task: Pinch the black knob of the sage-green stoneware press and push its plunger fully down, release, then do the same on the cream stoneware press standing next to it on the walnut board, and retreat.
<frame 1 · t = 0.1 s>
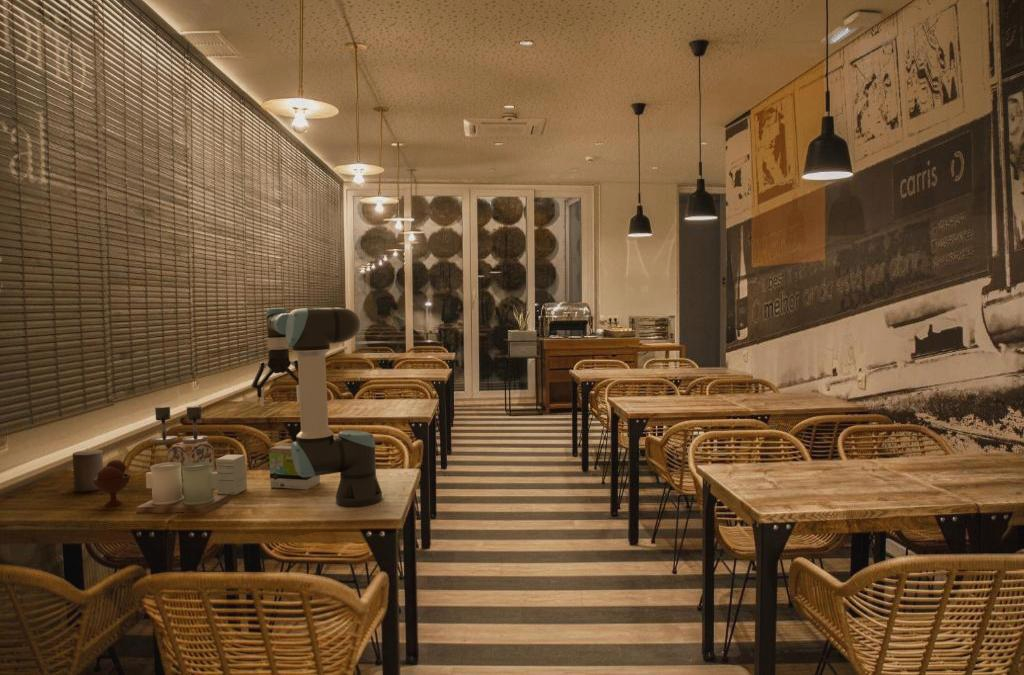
hand: (280, 404, 278), 28 cm above the table, fingers open, 13 cm apart
sage press body: (198, 501, 242), resting on walnut board
pillar candle: (89, 489, 270), on the table
supplement box: (232, 492, 260), on the table
tea box: (295, 486, 266), on the table
decorative jar: (192, 485, 271), on the table
walnut board: (183, 506, 243), on the table
cream press plunger: (163, 423, 242), point 28 cm above the table, slide at 8.0 cm
ice cream bowl: (113, 505, 247), on the table
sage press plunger: (194, 423, 240), point 28 cm above the table, slide at 8.0 cm
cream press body: (167, 500, 243), resting on walnut board
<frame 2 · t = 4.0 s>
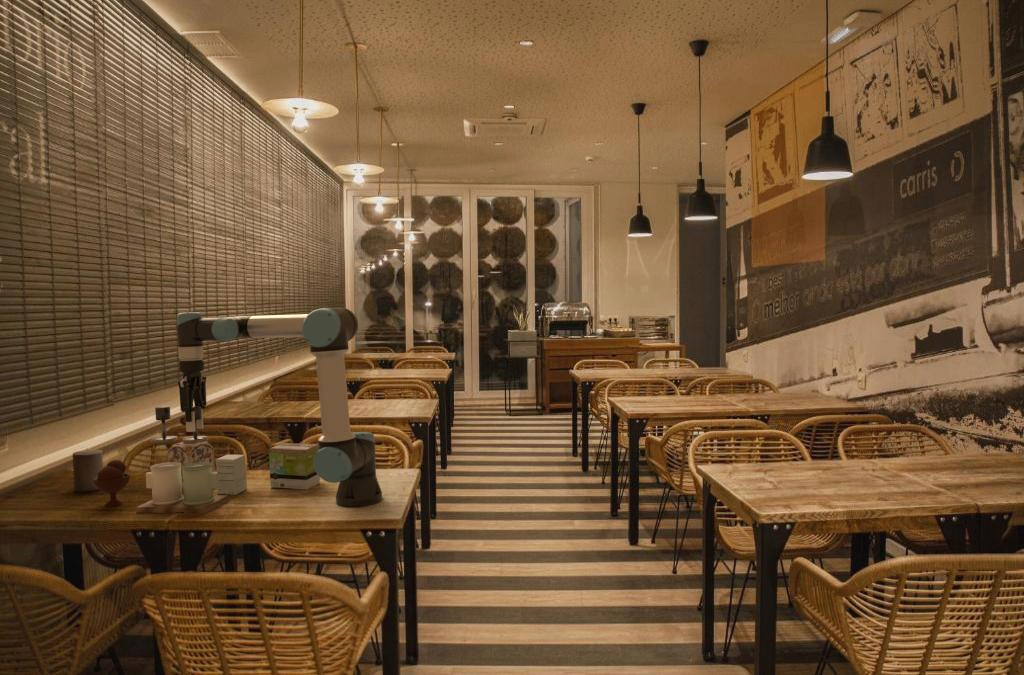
hand: (195, 429, 240), 26 cm above the table, fingers closed on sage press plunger, 4 cm apart
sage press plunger: (194, 423, 240), point 28 cm above the table, slide at 8.0 cm, touching gripper
everything else where it was.
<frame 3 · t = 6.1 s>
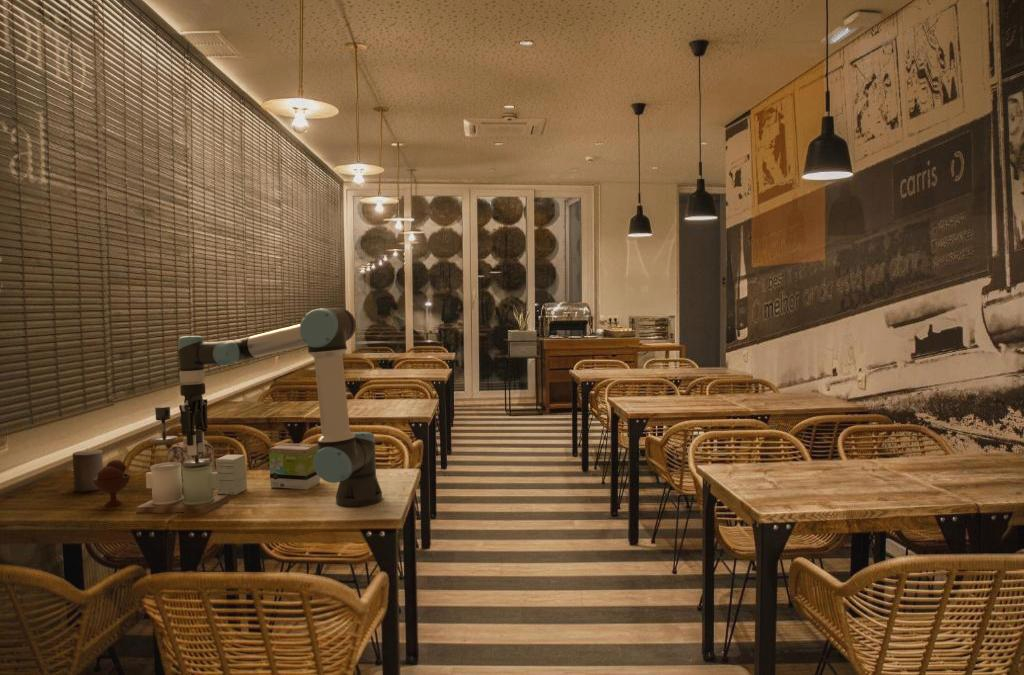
hand: (196, 453, 241), 18 cm above the table, fingers closed on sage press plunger, 4 cm apart
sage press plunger: (196, 447, 241), point 20 cm above the table, slide at 0.2 cm, touching gripper
everything else where it was.
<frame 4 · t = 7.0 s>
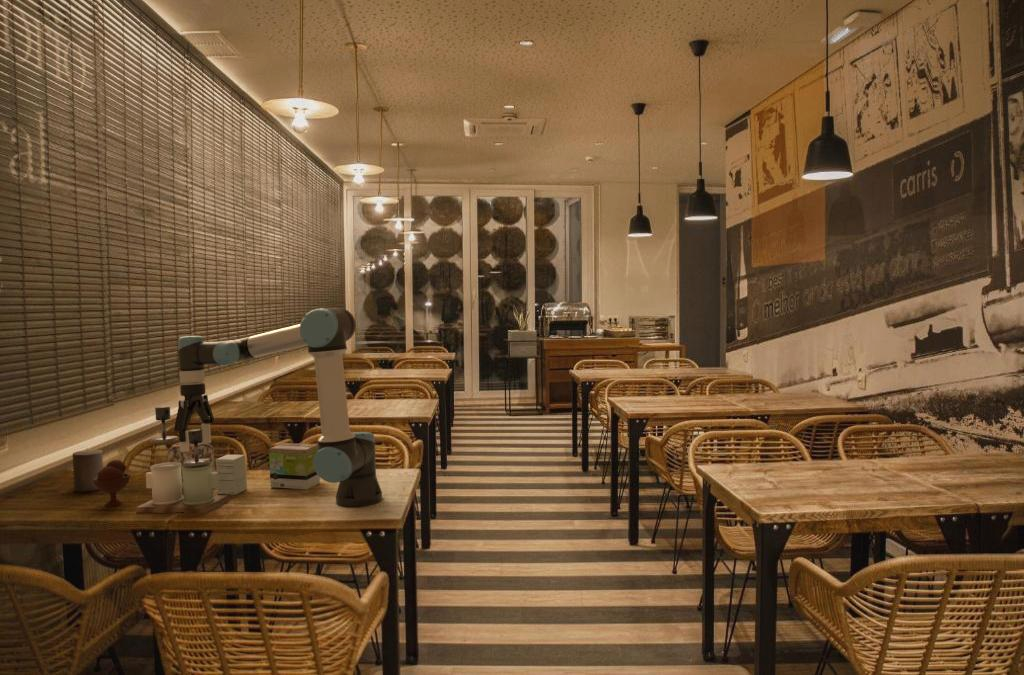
hand: (196, 447, 241), 20 cm above the table, fingers open, 13 cm apart
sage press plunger: (196, 447, 241), point 20 cm above the table, slide at 0.2 cm
everything else where it was.
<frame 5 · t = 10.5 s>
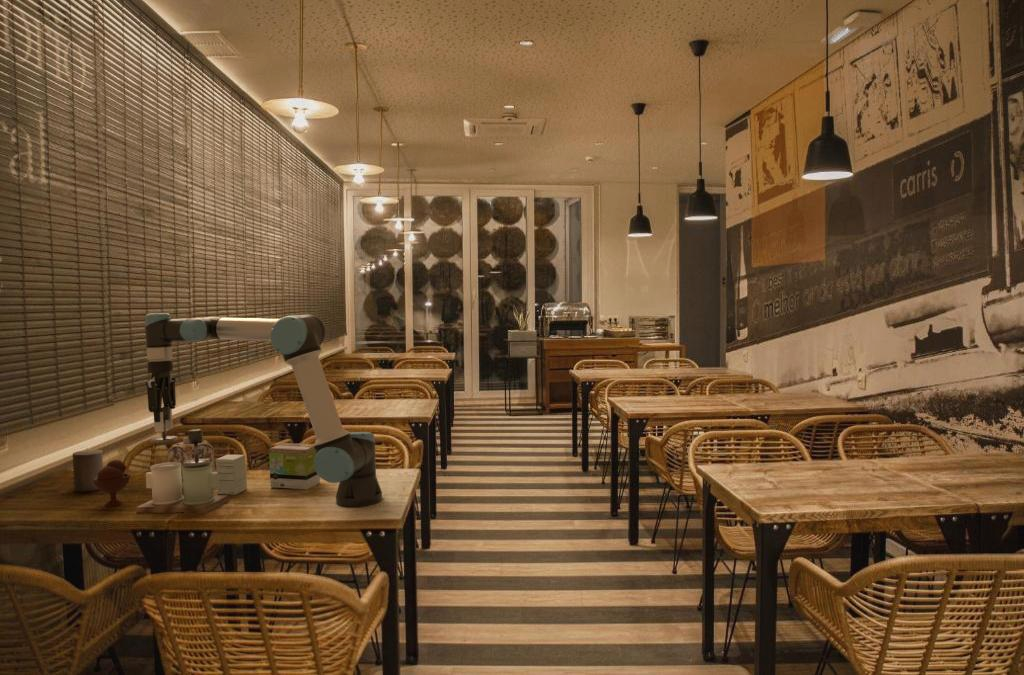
hand: (163, 430, 242), 26 cm above the table, fingers closed on cream press plunger, 4 cm apart
cream press plunger: (163, 424, 242), point 28 cm above the table, slide at 8.0 cm, touching gripper
everything else where it was.
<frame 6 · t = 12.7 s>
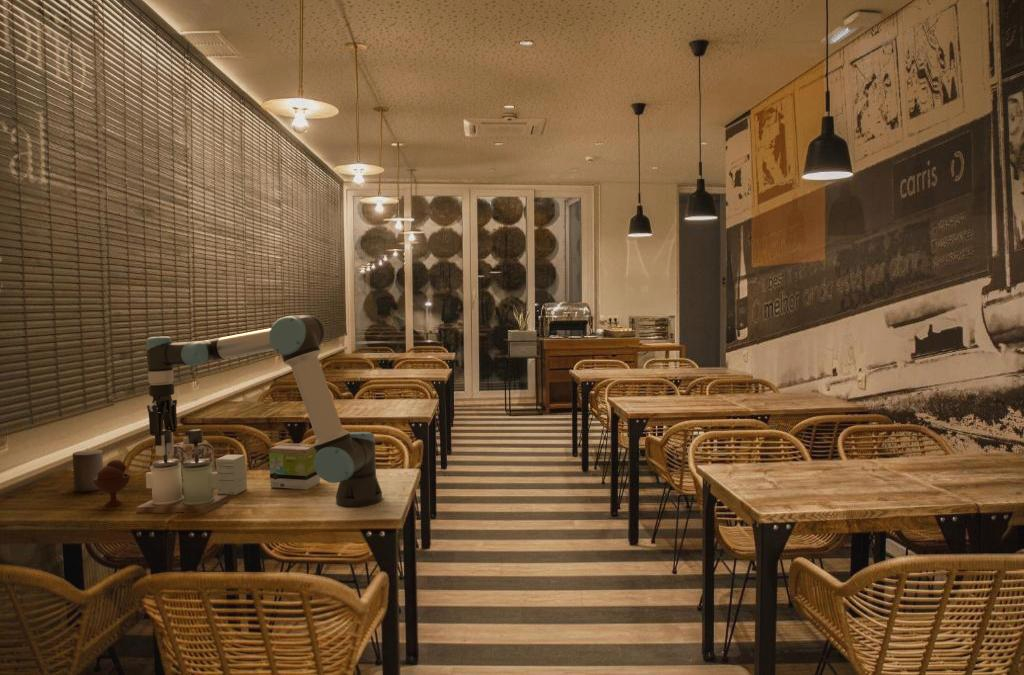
hand: (165, 453, 242), 18 cm above the table, fingers closed on cream press plunger, 4 cm apart
cream press plunger: (164, 447, 242), point 20 cm above the table, slide at 0.2 cm, touching gripper
everything else where it was.
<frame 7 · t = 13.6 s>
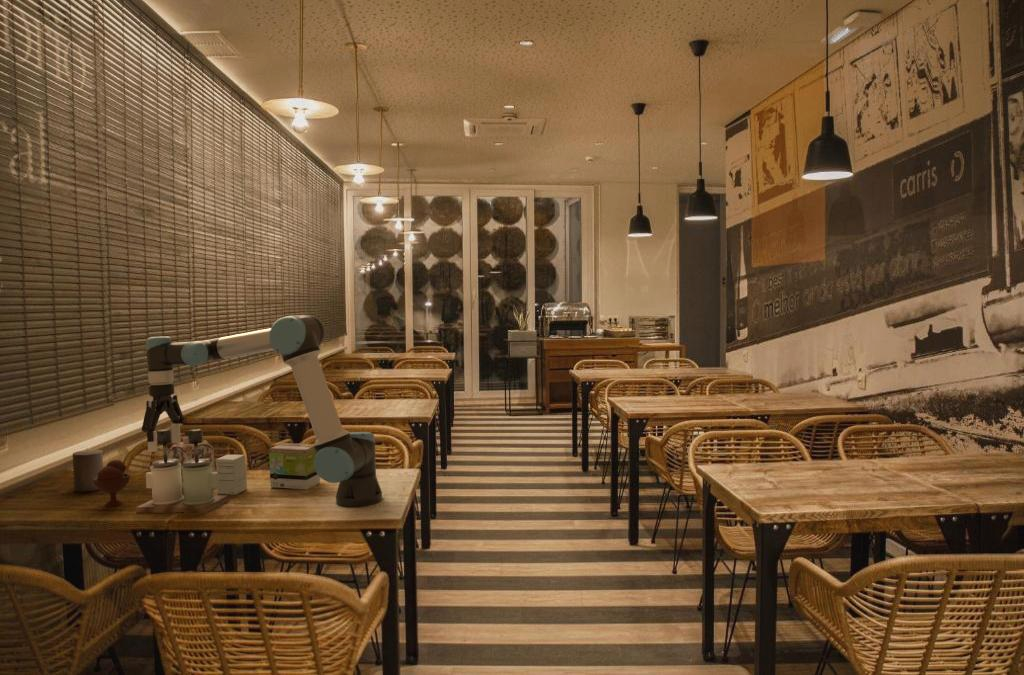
hand: (164, 447, 242), 20 cm above the table, fingers open, 13 cm apart
cream press plunger: (164, 447, 242), point 20 cm above the table, slide at 0.2 cm
everything else where it was.
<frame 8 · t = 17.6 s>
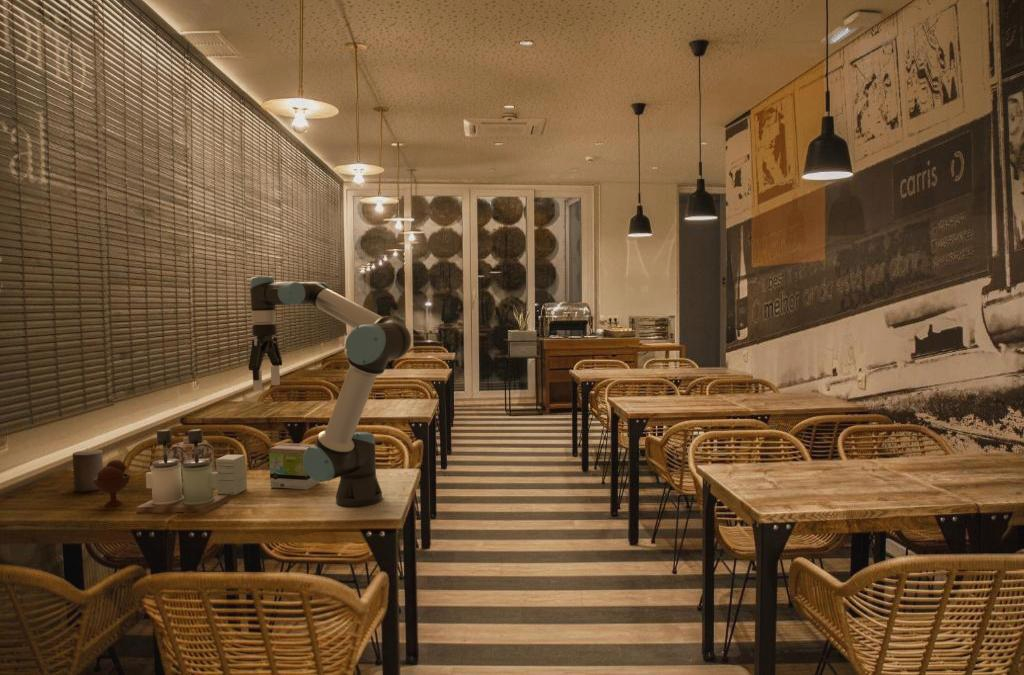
hand: (267, 387, 242), 39 cm above the table, fingers open, 13 cm apart
nothing on the table moved.
at the end: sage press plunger slide at 0.2 cm; cream press plunger slide at 0.2 cm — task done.
